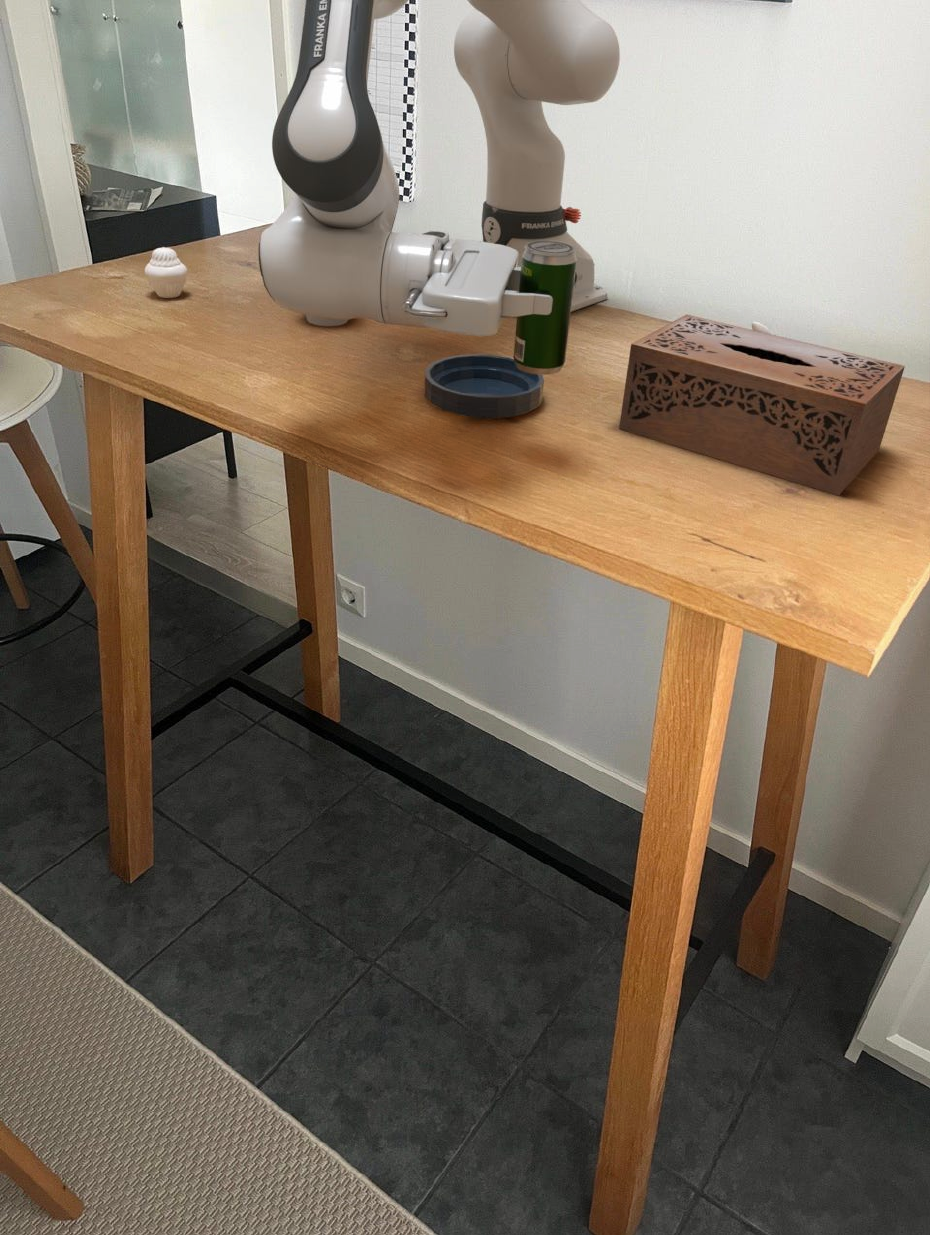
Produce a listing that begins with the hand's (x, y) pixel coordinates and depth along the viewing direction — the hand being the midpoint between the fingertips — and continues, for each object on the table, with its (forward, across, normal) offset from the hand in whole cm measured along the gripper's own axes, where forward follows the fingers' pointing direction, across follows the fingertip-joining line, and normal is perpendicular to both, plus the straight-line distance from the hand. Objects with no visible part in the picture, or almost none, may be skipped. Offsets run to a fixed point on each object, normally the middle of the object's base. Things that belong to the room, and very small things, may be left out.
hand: (554, 294), depth 98 cm
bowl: (-8, +14, +17) cm, 23 cm away
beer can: (-1, 0, +8) cm, 8 cm away
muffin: (-59, +42, +18) cm, 75 cm away
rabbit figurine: (+28, +35, +17) cm, 48 cm away
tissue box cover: (+23, +9, +17) cm, 30 cm away
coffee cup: (-34, +37, +17) cm, 53 cm away
